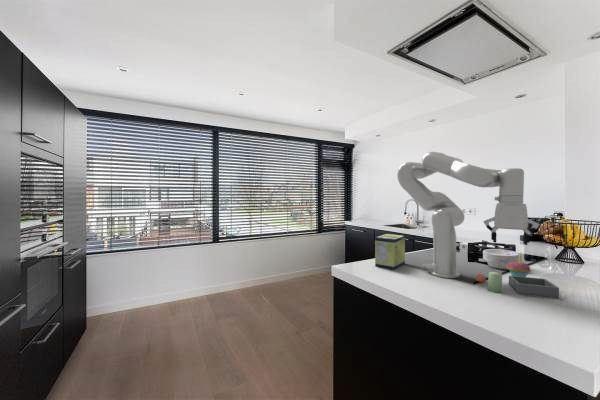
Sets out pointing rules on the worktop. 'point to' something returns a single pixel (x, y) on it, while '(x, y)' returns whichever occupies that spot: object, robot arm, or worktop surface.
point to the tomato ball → (480, 278)
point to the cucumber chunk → (495, 282)
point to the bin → (533, 287)
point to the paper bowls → (500, 257)
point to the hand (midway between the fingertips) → (509, 243)
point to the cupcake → (518, 268)
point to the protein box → (389, 251)
